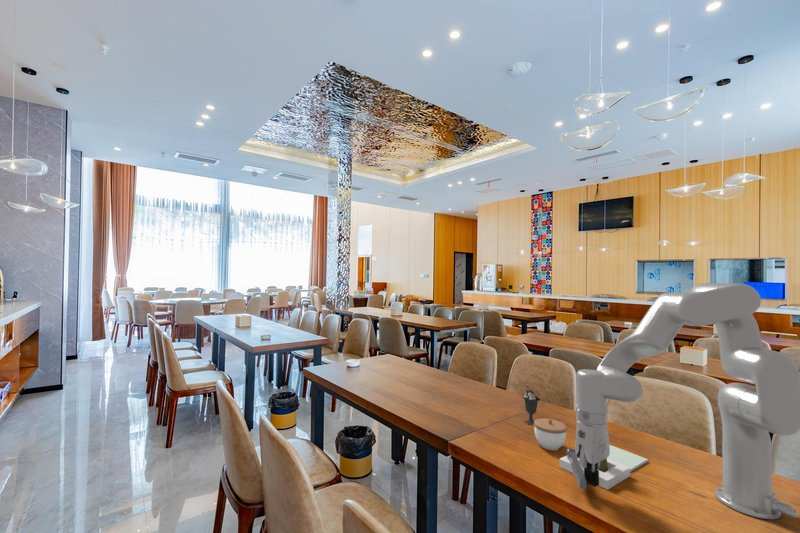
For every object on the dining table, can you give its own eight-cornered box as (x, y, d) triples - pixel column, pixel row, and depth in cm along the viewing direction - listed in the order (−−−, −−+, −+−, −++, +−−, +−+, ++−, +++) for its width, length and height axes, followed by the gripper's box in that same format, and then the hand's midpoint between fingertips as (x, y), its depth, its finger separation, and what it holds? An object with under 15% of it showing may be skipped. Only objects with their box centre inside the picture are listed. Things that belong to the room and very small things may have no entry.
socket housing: (629, 476, 108) (629, 467, 108) (607, 489, 100) (607, 480, 101) (582, 456, 120) (582, 447, 120) (559, 466, 112) (559, 458, 112)
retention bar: (587, 489, 95) (588, 480, 95) (578, 488, 96) (578, 478, 96) (574, 456, 113) (574, 448, 114) (566, 455, 114) (566, 447, 114)
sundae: (518, 420, 150) (519, 384, 151) (532, 418, 152) (532, 383, 153) (528, 426, 144) (529, 388, 144) (542, 424, 146) (543, 387, 146)
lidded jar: (532, 449, 124) (532, 421, 124) (534, 437, 134) (535, 411, 134) (566, 456, 119) (566, 427, 120) (566, 443, 129) (566, 417, 130)
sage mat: (647, 461, 118) (647, 459, 118) (629, 472, 110) (629, 469, 110) (606, 445, 128) (606, 443, 128) (587, 454, 121) (587, 452, 121)
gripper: (590, 426, 92) (591, 499, 91) (618, 415, 100) (619, 482, 99) (563, 417, 98) (563, 485, 97) (591, 407, 106) (592, 470, 106)
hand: (591, 483), depth 98 cm, fingers closed
